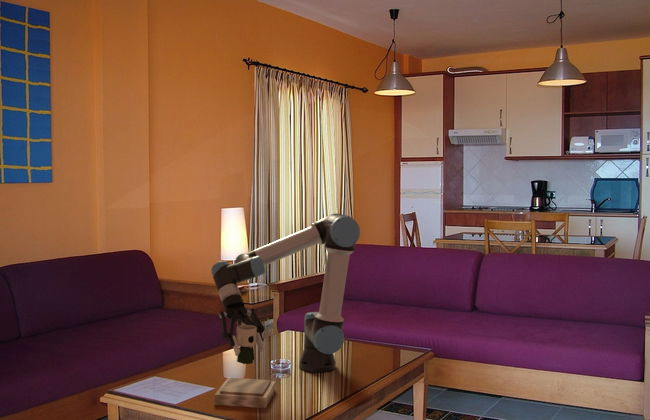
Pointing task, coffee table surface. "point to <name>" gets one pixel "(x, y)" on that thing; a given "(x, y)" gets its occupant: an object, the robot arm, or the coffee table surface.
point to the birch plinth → (245, 392)
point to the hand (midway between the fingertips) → (250, 352)
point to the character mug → (246, 343)
